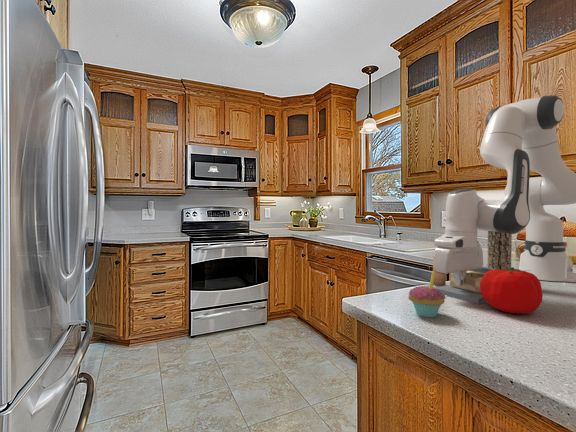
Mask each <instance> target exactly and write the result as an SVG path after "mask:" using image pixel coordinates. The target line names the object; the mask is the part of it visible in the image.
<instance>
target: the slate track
mask: <svg viewBox="0 0 576 432" xmlns="http://www.w3.org/2000/svg"><path fill="white" fill-rule="evenodd" d="M490 270H494V268H488V266H487V267H486V266H483V267H482V269H476V270H467V271H473V272H479V273H486V272H488V271H490ZM434 288H436V289H437V290H439V291H440V292H442V294H443V295H444V296H445V295H447V297H449V296H450V298H453V297H454V298H453V299H457V298H458V300H461V299H462V300H461V301H465V302H469V303H472V304H477V305H479V304H483V303H487V302H486V301H485V299H484V298H483V296H482V295H481V293H478V292H474V291H470V290H465V289H461V288H456V287H452V286H450V284H446V285H445V286H440V287H439V286H435V287H434Z"/></svg>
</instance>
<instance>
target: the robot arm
mask: <svg viewBox="0 0 576 432" xmlns="http://www.w3.org/2000/svg"><path fill="white" fill-rule="evenodd" d="M564 114H565V106H564V101H563V100H562V98H560V97H559V96H558V95H550V94H549V95H543V96H541V97H540V96H539V97H533V98H527V99H521V100H519V101H515V102H512V103H508V104H505V105H500V106H496V107H495V108H493V109H491V110H489V112H488V114H487V115H486V117H485V122H484V123H485V130H484V133H483V136H482V139H481V144H480V145H479V146H480V147H479V155H480V157H481V158H482V159H483V161H484V162H485V163H487V164H488V165H490V166H492V167H495V168H498V169H502V170H506V173H507V177H506V178H507V179H506V180H507V181H506V186H505V188H504V197H503V198H502V199H490V200H489V199H485V198H483V197H481V196H479V195H478V193H477V190H476V189H475V188H461V189H454V190H451V191H449V193H448V195H447V198H446V201H445V222H446V225H445V228H444V233H443V234H442V235H441V236H438V237H437V238H435V239H434V243H433V244H434V246H435V249H434V253H433V254H434V255H433V256H434V268H435V270H436V271H437V272H442V273H446V274H453V277H454V279H455V285H458V286H460V285H463V284H464V279H465V276H466V274H467V270H476V269H482V267H484V254H483V253H484V251H483V247H482V246H481V244H480V243H479V241H478V231H486V232H488V231H497V232H502V233H508V234H512V235H515V234H518V233H520V232H521V231H522V230H524V229H525V240H524V244H523V245H524V251H523V252H521V253H520V258H519V268H518V269H519V270H520V271H521V270H522V271H526V272H529V273H532V274H534V275H535V276H536V277H537V278H538V280H539V281H548V282H564V283H566V282H567V283H576V272H573V271H574V266H573V265H574V263H573V260H572V259H571V258H570V257H569V256H568V255H567V253H566V252H567V251H566V248H567V247H568V243H567V242H566V241H564V222H563V221H562V219H561V218H559V216H556V215H553V214H551V213H548V212H546V211H545V208H544V206H563V205H564V206H567V205H575V204H576V172H574V171H573V170H572V169H570V168H569V167H568V166H567V165H566V163H565V162H564V161H563V159H562V154H561V150H560V146H559V145H560V144H559V138H558V132H557V128H556V127H557V125H559V124H560V123H561V122H562V120H563V118H564ZM531 172H535V173H537V174H539V175H540V176H535V177H530V173H531ZM527 270H529V271H527Z"/></svg>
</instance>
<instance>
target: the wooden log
mask: <svg viewBox="0 0 576 432" xmlns="http://www.w3.org/2000/svg"><path fill="white" fill-rule="evenodd" d="M512 235H513V234H508V233H502V232H497V231H487V268H494V269H507V268H509V269H511V267H512V243H513V242H512V238H513V237H512Z"/></svg>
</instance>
